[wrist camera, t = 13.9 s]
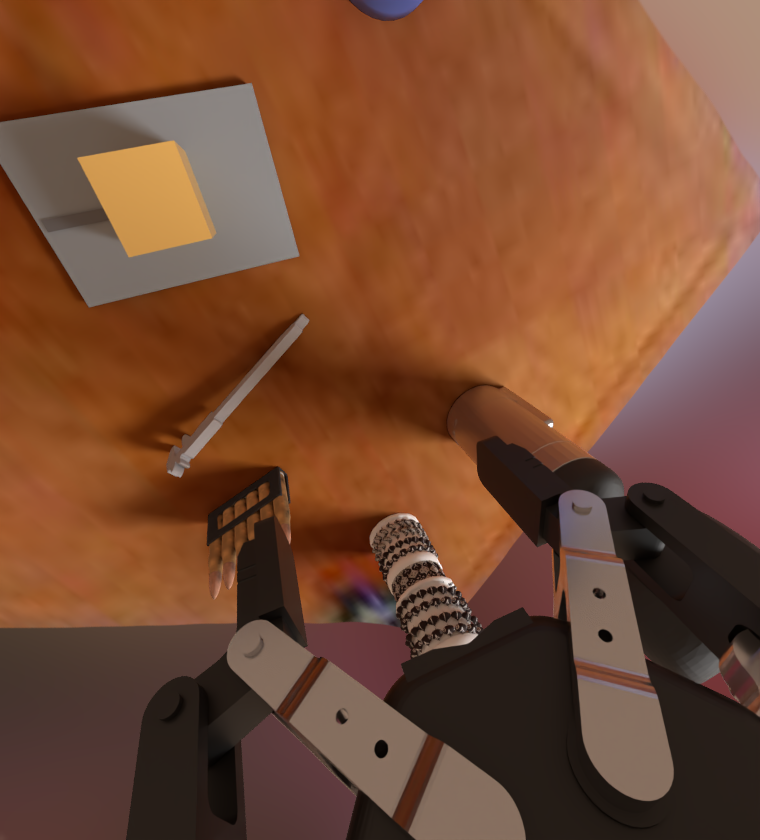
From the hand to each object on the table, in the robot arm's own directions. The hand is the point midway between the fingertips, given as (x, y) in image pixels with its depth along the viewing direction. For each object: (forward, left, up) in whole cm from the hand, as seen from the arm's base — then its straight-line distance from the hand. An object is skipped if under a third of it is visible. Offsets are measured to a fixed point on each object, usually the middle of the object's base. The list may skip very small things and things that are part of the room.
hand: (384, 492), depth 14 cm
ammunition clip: (+12, +20, -28) cm, 37 cm away
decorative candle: (-5, +37, -28) cm, 47 cm away
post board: (+7, -11, -28) cm, 31 cm away
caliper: (+8, +6, -29) cm, 30 cm away
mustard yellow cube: (+7, -11, -27) cm, 30 cm away
